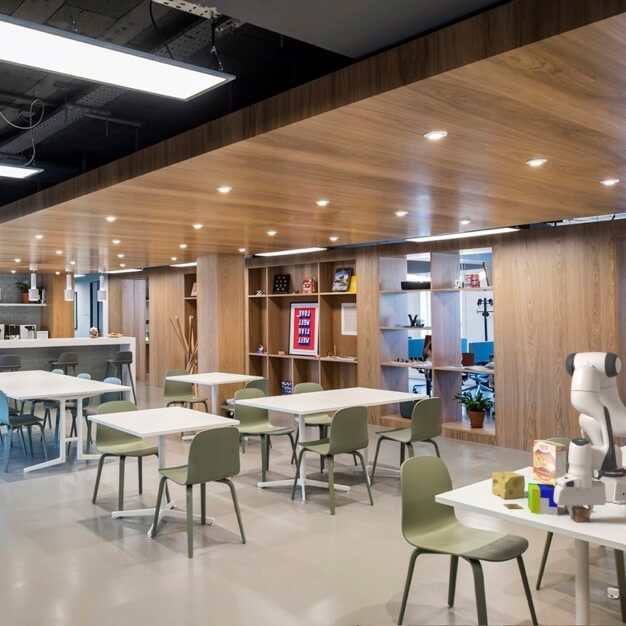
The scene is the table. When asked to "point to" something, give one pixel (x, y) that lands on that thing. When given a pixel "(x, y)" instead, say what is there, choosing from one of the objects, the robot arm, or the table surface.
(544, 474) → the coffeecake box
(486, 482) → the table surface
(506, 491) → the cheese
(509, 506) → the swatch tile
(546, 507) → the puzzle toy
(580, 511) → the walnut block
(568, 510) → the sage block
